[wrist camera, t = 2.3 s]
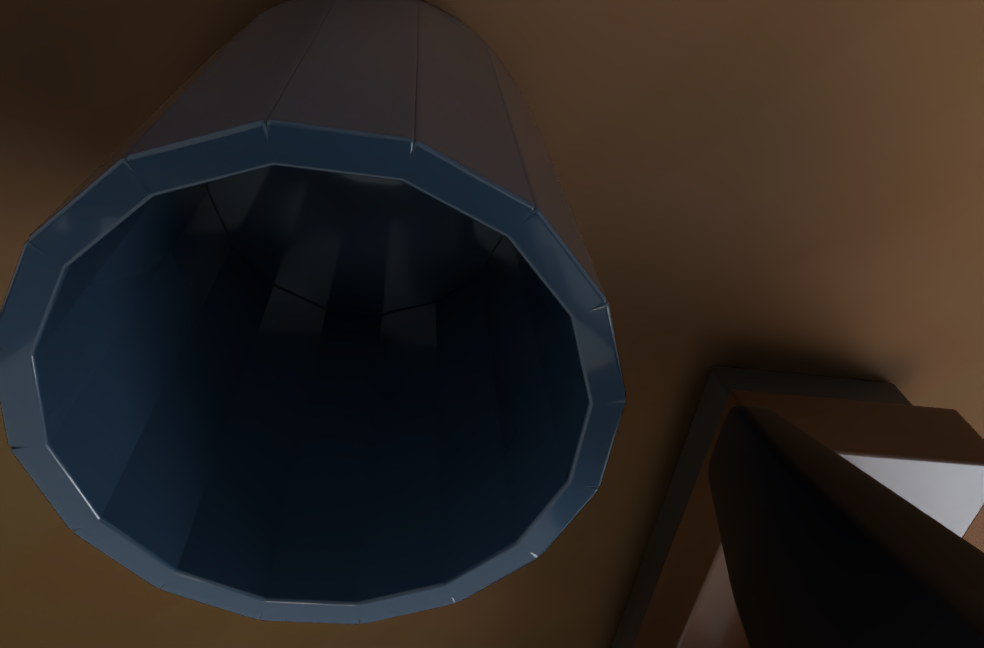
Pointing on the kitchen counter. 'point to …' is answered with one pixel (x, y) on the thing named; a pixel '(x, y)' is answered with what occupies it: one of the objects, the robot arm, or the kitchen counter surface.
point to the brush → (835, 423)
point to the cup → (318, 328)
